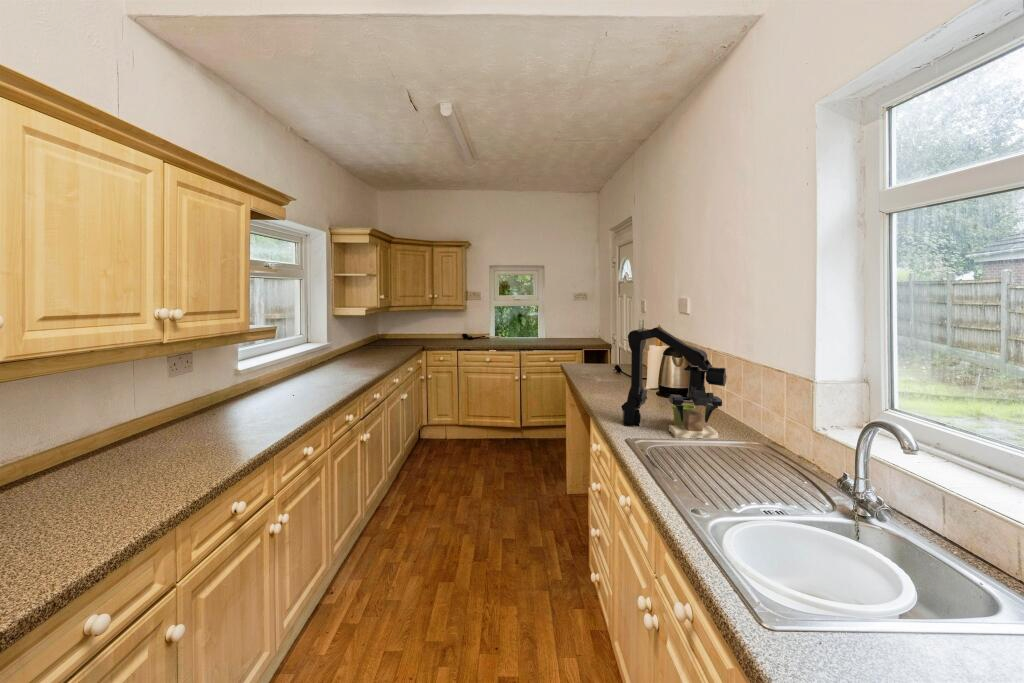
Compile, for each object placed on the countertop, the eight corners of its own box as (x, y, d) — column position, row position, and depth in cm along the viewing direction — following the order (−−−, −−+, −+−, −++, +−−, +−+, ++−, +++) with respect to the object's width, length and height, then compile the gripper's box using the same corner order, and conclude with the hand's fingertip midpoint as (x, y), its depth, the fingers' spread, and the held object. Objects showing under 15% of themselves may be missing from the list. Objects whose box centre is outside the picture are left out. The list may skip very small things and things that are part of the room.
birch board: (675, 438, 192) (675, 431, 192) (669, 430, 202) (669, 424, 201) (717, 439, 191) (718, 433, 191) (709, 432, 201) (710, 426, 201)
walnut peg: (687, 437, 194) (689, 414, 193) (683, 432, 199) (685, 410, 198) (702, 437, 194) (703, 415, 193) (697, 433, 199) (699, 411, 198)
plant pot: (665, 423, 212) (666, 403, 211) (684, 422, 215) (685, 402, 214) (679, 430, 203) (680, 409, 202) (698, 428, 206) (700, 408, 205)
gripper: (677, 386, 187) (675, 426, 188) (728, 387, 186) (725, 428, 187) (670, 380, 198) (667, 418, 199) (718, 381, 197) (715, 420, 198)
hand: (693, 421), depth 196 cm, fingers open, 9 cm apart
